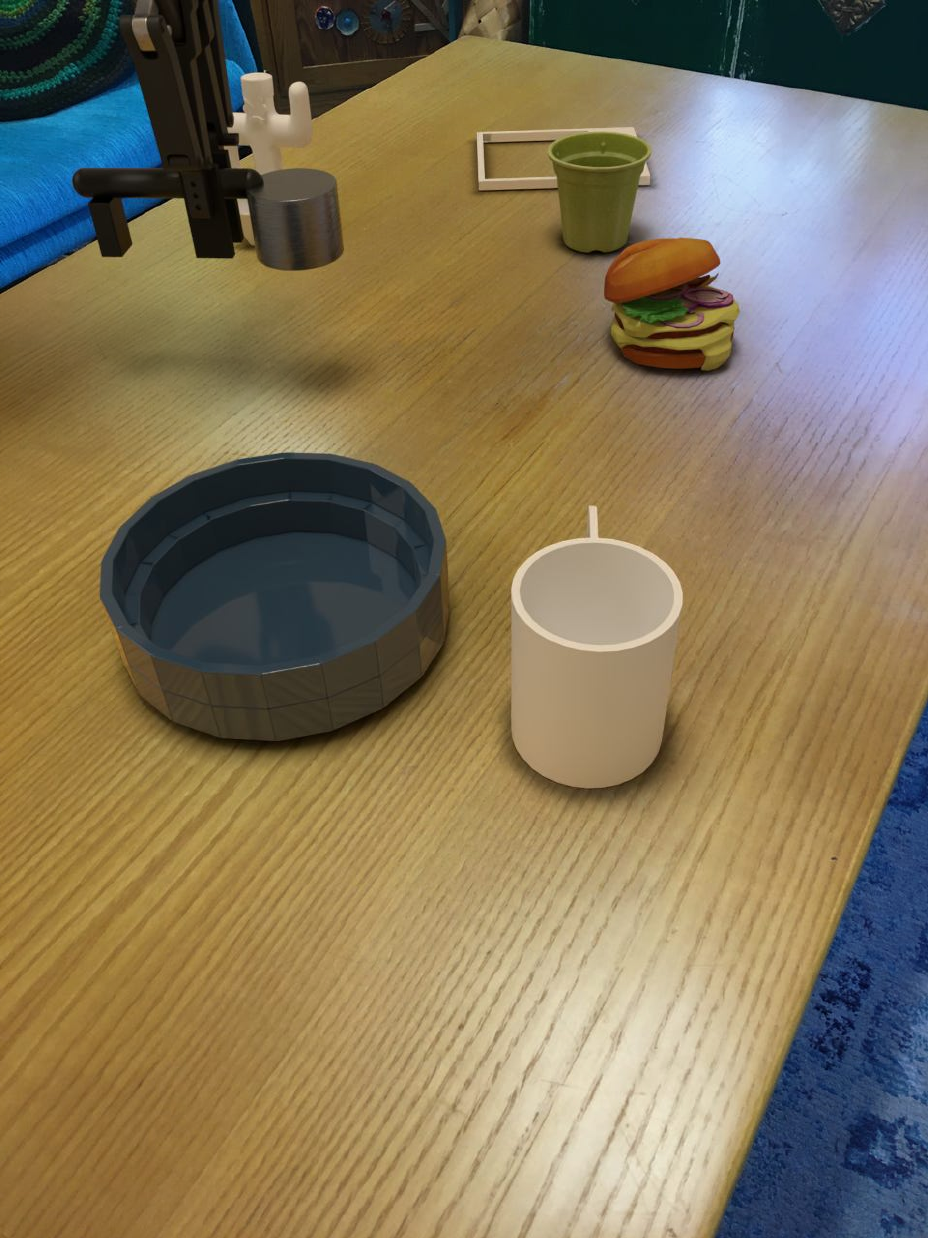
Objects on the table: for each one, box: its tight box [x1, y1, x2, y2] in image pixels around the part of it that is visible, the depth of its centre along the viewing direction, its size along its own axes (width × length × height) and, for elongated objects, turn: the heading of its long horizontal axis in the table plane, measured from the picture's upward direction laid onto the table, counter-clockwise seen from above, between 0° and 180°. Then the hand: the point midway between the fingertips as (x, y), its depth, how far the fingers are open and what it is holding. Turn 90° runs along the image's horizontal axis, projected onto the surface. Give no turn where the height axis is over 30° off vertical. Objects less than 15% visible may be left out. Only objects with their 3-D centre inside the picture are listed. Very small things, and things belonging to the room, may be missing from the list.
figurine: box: [224, 72, 313, 247], centre depth 100 cm, size 7×9×15 cm
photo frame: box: [476, 126, 651, 191], centre depth 117 cm, size 15×1×18 cm
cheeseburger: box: [603, 237, 741, 371], centre depth 85 cm, size 10×11×10 cm
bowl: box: [99, 451, 451, 742], centre depth 63 cm, size 19×19×6 cm
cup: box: [510, 505, 684, 789], centre depth 56 cm, size 8×12×10 cm
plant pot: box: [547, 132, 652, 254], centre depth 100 cm, size 9×9×9 cm
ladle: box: [71, 167, 345, 272], centre depth 77 cm, size 19×6×6 cm, turn 84°
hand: (220, 247), depth 79 cm, fingers closed on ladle, 2 cm apart
